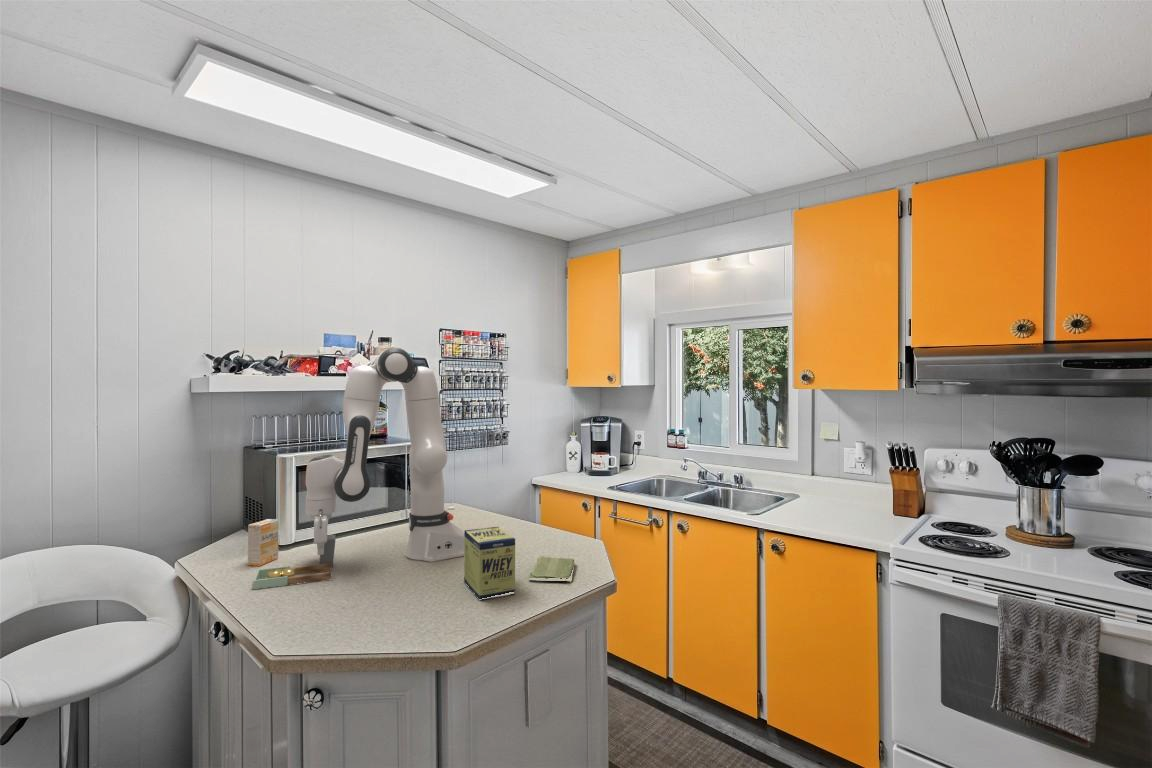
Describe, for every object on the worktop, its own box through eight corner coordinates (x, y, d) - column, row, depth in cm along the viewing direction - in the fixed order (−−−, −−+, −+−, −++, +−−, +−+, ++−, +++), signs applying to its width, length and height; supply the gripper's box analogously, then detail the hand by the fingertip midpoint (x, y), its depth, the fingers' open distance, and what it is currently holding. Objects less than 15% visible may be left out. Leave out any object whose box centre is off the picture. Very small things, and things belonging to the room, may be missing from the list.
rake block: (332, 562, 179) (335, 534, 179) (332, 567, 174) (335, 539, 174) (319, 563, 177) (321, 534, 177) (318, 568, 172) (321, 539, 172)
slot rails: (331, 569, 172) (331, 562, 172) (331, 579, 163) (331, 572, 163) (289, 574, 168) (289, 567, 168) (287, 585, 158) (287, 578, 158)
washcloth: (527, 584, 162) (527, 573, 162) (537, 564, 179) (537, 554, 179) (571, 585, 161) (571, 574, 161) (577, 565, 178) (577, 555, 178)
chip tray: (289, 574, 168) (289, 566, 168) (287, 585, 158) (287, 576, 158) (257, 578, 164) (257, 569, 164) (253, 589, 155) (253, 580, 155)
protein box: (479, 601, 148) (479, 543, 148) (463, 582, 161) (463, 529, 161) (516, 594, 152) (516, 538, 152) (497, 577, 166) (497, 525, 166)
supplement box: (260, 566, 174) (260, 525, 174) (247, 565, 175) (247, 524, 175) (279, 558, 182) (279, 519, 182) (266, 557, 183) (266, 518, 183)
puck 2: (295, 577, 165) (295, 567, 165) (295, 580, 162) (295, 570, 162) (282, 578, 164) (282, 568, 164) (281, 582, 161) (281, 572, 161)
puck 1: (282, 578, 164) (282, 568, 164) (281, 582, 161) (281, 572, 161) (268, 580, 162) (268, 570, 162) (267, 584, 159) (267, 574, 159)
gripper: (332, 513, 166) (331, 558, 167) (331, 499, 185) (331, 540, 185) (308, 515, 164) (308, 561, 164) (311, 501, 183) (310, 543, 183)
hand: (320, 550), depth 175 cm, fingers open, 7 cm apart
